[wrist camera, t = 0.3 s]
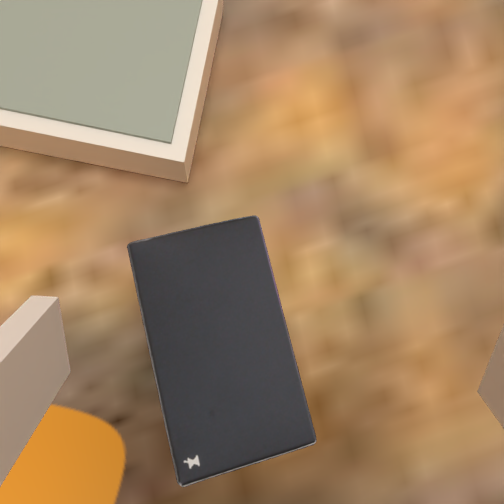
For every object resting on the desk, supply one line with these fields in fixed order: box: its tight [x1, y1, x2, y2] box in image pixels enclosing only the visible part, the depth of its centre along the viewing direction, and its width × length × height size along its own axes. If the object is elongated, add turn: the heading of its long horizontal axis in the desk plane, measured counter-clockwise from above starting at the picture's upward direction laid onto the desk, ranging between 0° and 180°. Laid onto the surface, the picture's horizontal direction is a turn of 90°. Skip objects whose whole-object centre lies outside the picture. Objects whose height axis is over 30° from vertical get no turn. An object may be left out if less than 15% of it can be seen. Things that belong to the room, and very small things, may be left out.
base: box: [0, 0, 223, 183], centre depth 27 cm, size 14×14×4 cm
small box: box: [127, 216, 316, 487], centre depth 22 cm, size 11×6×10 cm, turn 14°
